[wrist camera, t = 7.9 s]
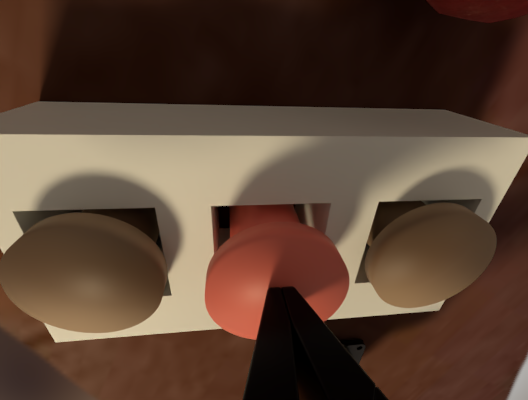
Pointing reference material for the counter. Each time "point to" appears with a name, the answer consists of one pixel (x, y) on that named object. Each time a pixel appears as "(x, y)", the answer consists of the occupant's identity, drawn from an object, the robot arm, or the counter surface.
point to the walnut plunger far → (426, 251)
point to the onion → (481, 9)
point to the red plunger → (271, 267)
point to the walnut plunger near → (88, 270)
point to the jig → (244, 179)
